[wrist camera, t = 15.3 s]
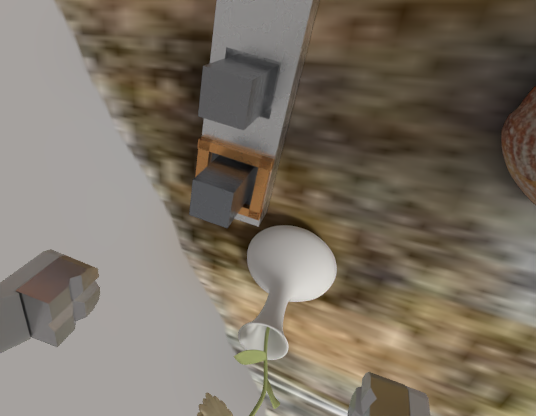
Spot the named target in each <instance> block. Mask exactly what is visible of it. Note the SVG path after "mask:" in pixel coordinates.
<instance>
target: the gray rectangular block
mask: <svg viewBox="0 0 536 416" xmlns="http://www.w3.org/2000/svg"><path fill="white" fill-rule="evenodd" d="M257 171H258V167H256V166H253V165H249V164H246V163H243V162H240V161H237V160H234V159H231V158H228V157H225V156H221V155H219V156H218V157H217V158H216V159H215V160H214V161H212V162H211V163H210V164H209V165H208V166H207V167H206V168H205V169H204V170H203V171H201V172H200V173H199V174H198V175H197V176H196V177H195V178H194V179H193V183H192V193H191V203H190V212H189V215H191V216H194V217H197V218H200V219H202V220H205V221H208V222H211V223H214V224H217V225H220V226H222V227H225V228H228V227H229V225H230V224H231V222H232V221H233V220H234V218H235V217H236V215H237V214H238V212H239V211H240V210H241V208H242V207H243V205H244V204H245V202H246V201H247V200H248V198H249V197H250V195H251V194H252V192H253V190H254V185H255V181H256V176H257Z"/></svg>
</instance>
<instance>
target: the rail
mask: <svg viewBox="0 0 536 416" xmlns="http://www.w3.org/2000/svg"><path fill="white" fill-rule="evenodd" d="M319 1H320V0H217V1H216V11H215V20H214V29H213V38H212V47H211V57H210V63H212V62H215V61H218V60H221V59H224V58H227V57H230V56H233V55H236V54H243V55H246V56H250V57H253V58H257V59H261V60H264V61H268V62H271V63H275V64H278V65H279V68H278V73H277V78H276V82H275V87H274V92H273V96H272V101H271V106H270V107H269V108H268V109H267V110H266V111H265V112H264V113H263V114H261V115H260V116H259V117H258V118H257V119H256V120H255V121H254V122H253V123H251V124H250V125H249V126H248V127H247V128H246V129H245V130H241V129H237V128H234V127H231V126H228V125H224V124H221V123H218V122H215V121H212V120H208V119H205V118H204V121H203V130H202V137H200V138H199V139H198V156H197V166H196V175H195V177H196V176H197V175H198V174H199V173H200V172H201V171H203V170H204V169H205V168H206V167H207V166H208V165H209V164H210V163H211V162H212V161H214V160H215V159H216V158H217V157H218V156H219V155H221V156H225V157H228V158H231V159H234V160H237V161H240V162H243V163H246V164H249V165H253V166H256V167H258V171H257V176H256V181H255V185H254V190H253V192H252V194H251V195H250V197H249V198H248V200H247V201H246V202H245V204H244V205H243V207H242V208H241V210H240V211H239V212H238V214H237V215H236V217H235V218H234V219H237V220H240V221H243V222H246V223H249V224H252V225H255V226H257V227H259V225H260V224H261V222H262V220H263V218H264V216H265V215H266V213H267V210H268V206H269V202H270V198H271V194H272V190H273V186H274V182H275V178H276V174H277V170H278V166H279V162H280V158H281V154H282V150H283V146H284V142H285V138H286V133H287V129H288V125H289V121H290V117H291V113H292V109H293V105H294V101H295V97H296V93H297V89H298V85H299V81H300V77H301V73H302V69H303V65H304V61H305V57H306V53H307V49H308V45H309V41H310V37H311V33H312V29H313V25H314V21H315V17H316V13H317V9H318V5H319Z"/></svg>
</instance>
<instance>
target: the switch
mask: <svg viewBox="0 0 536 416" xmlns="http://www.w3.org/2000/svg"><path fill="white" fill-rule="evenodd" d="M278 68H279V65H278V64H275V63H271V62H268V61H264V60H261V59H257V58H253V57H250V56H246V55H243V54H236V55H233V56H230V57H227V58H224V59H221V60H218V61H215V62H212V63H209V64H206V65H203V72H202V82H201V92H200V102H199V112H198V116H199V117H202V118H205V119H208V120H212V121H215V122H218V123H221V124H224V125H228V126H231V127H234V128H237V129H241V130H245V129H246V128H247V127H248V126H249V125H250V124H251V123H253V122H254V121H255V120H256V119H257V118H258V117H259V116H260V115H261V114H263V113H264V112H265V111H266V110H267V109H268V108H269V107H270V106H271V101H272V96H273V92H274V87H275V82H276V78H277V73H278Z"/></svg>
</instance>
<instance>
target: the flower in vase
mask: <svg viewBox="0 0 536 416" xmlns="http://www.w3.org/2000/svg"><path fill="white" fill-rule="evenodd" d="M247 263H248V268H249V271H250V273H251V275H252V277H253V279H254V280H255V281H256V282H257V284H258V285H259V286H260V287H261V288H262V289H263V290H265V291H266V292H267V293H269V295H268V298H267V301H266V303H265V305H264V307H263V309H262V311H261V312H260V314H259V315H258V316H257V318H256V319H255V320H253V321H252V322H250V323H247V324H245V325H243V326H242V327H241V328H240V330H239V332H238V338H239V341H240V343H241V345H242V346H243V347H244V348H245V349H246V351H243V352H240V353H239V354H237V355H235V356H234V357H235V359H236V360H237V361H238V362H239V363H241V364H244V365H247V364H253V363H258V362H261V361H264V385H263V391H262V394H261V397H260V399H259V401H258V403H257V404H256V406H255V407H254V409H253V411H252V412H251V414H250V415H249V416H254V415H255V413H256V412H257V410H258V409H259V407H260V405H261V403H262V401H263V399H264V397H265V394H266V390H267V392H268V395H269V397H270V400H271V403H272V405H273V408H274V409H275V408H277V407H278V406H279V405H280V403H279V402H278V400H277V399H276V398H275V396H274V395H273V391H272V388H271V385H270V383H269V381H268V379H267V360H276V359H280V358H282V357H283V356H285V355H286V353H287V352H288V342H287V339H286V337H285V336H284V333H283V318H284V313H285V309H286V306H287V303H288V301H291V302H301V301H309V300H312V299H315V298H317V297H319V296H321V295H322V294H324V293H325V292H326V291H327V290H328V289H329V288H330V286H331V285H332V284H333V282H334V280H335V277H336V272H337V265H336V260H335V257H334V255H333V253H332V251H331V250H330V248H329V247H328V246H327V244H326V243H325V242H324V241H323V240H322V239H320V238H319V237H318V236H316V235H315V234H314V233H312V232H310V231H308V230H306V229H303V228H300V227H296V226H289V225H279V226H273V227H269V228H266V229H264V230H262V231H261V232H259V233H258V234H257V235H256V236H255V237H254V238H253V239H252V240H251V242H250V244H249V247H248V251H247ZM199 410H200V412H199V413H198V414H197V416H233V414H232V413H231V411H229V409H227V407H226V405H225V403H224V402H223V401H220V400H219V399H218V398H217V397H216V396H214V397H212V395H211V394H209V393H206V399H203V404H199Z"/></svg>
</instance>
